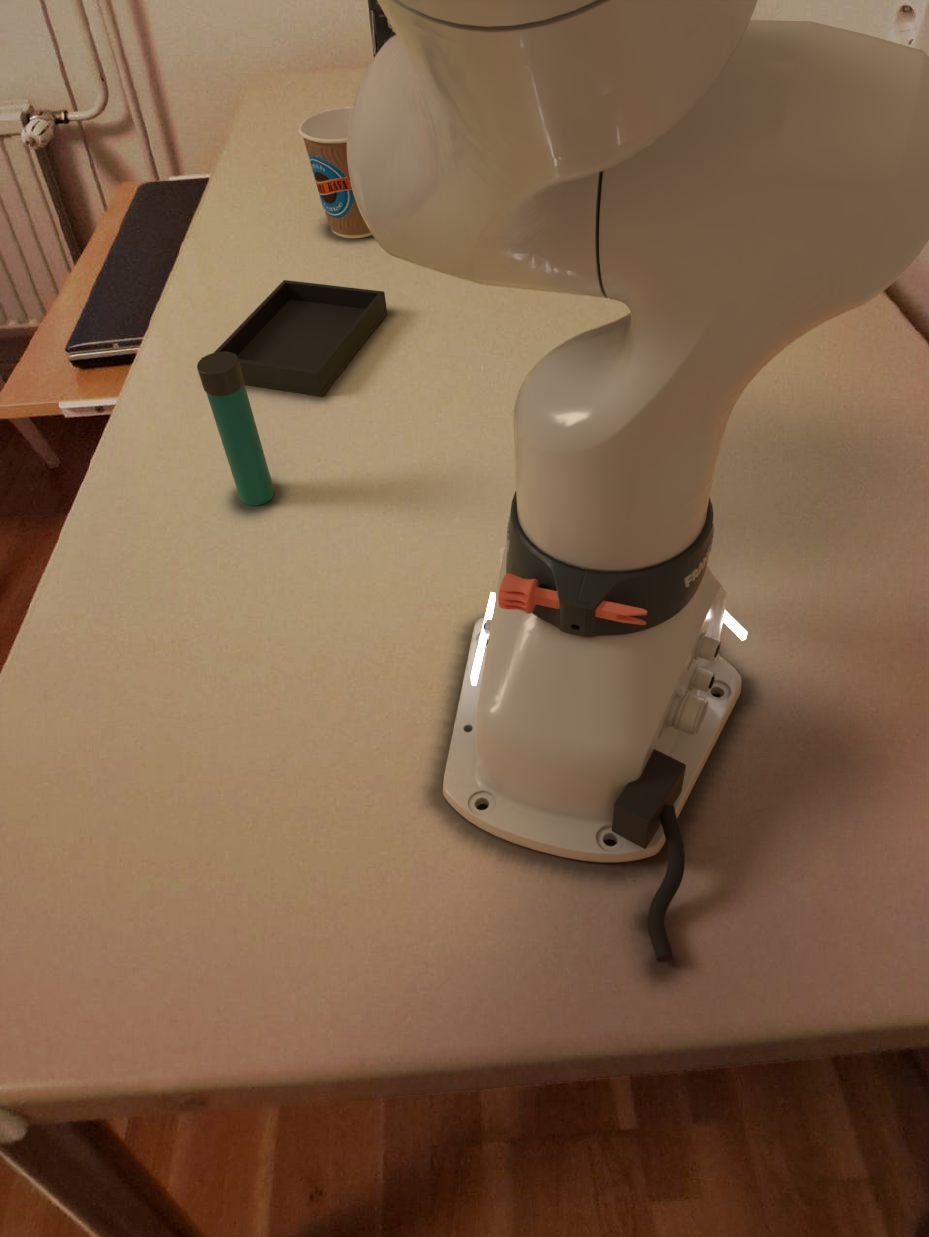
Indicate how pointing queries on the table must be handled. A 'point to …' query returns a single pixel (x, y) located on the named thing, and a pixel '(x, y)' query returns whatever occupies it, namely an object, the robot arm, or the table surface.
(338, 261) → the table surface
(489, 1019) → the table surface
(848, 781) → the table surface
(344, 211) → the coffee cup
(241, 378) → the marker
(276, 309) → the tray
